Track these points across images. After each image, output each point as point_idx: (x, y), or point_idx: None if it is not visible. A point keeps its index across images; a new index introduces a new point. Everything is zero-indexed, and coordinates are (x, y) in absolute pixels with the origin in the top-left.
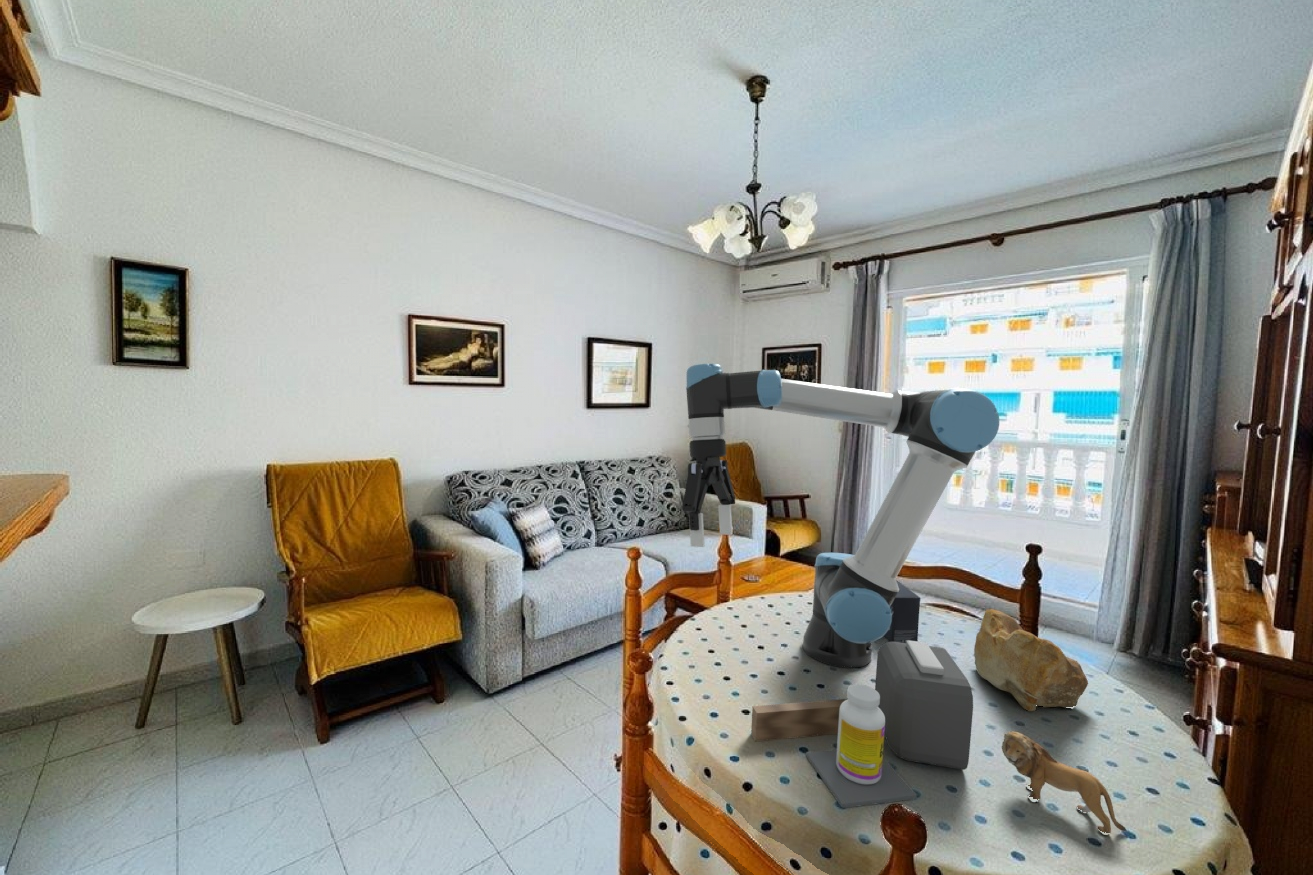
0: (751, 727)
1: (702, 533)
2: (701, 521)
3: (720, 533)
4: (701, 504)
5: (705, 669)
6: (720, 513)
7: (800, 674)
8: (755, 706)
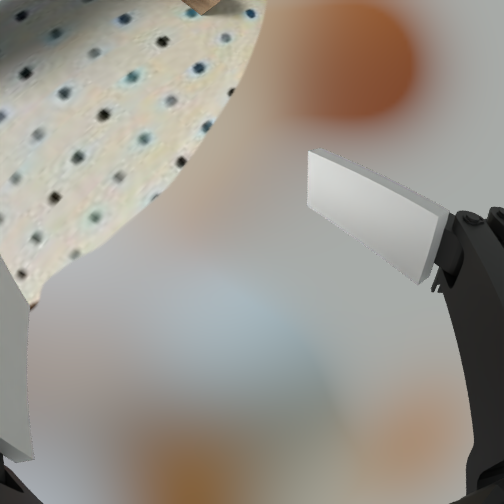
0: (204, 12)
1: (363, 167)
2: (413, 192)
3: (27, 306)
4: (485, 248)
5: (108, 156)
6: (19, 397)
7: (8, 53)
8: (213, 1)
